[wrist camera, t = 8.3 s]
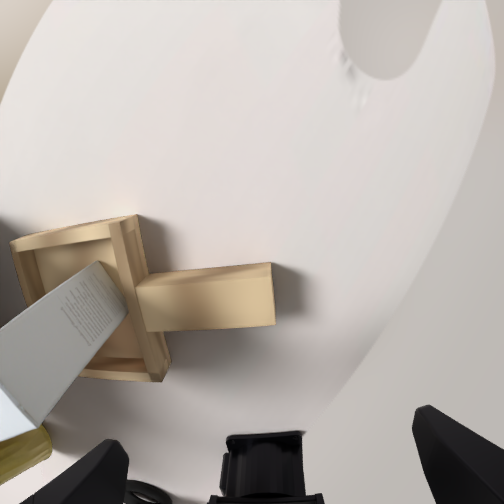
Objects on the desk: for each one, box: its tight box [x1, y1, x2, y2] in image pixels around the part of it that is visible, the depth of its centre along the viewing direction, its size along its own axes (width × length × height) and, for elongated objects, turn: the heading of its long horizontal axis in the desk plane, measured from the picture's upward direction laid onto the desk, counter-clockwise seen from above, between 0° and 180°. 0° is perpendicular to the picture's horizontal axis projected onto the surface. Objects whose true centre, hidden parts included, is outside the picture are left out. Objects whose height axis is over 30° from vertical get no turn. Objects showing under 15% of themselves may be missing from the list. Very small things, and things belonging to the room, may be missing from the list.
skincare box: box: [0, 261, 129, 442], centre depth 15 cm, size 6×4×12 cm
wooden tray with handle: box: [9, 214, 276, 382], centre depth 20 cm, size 18×11×3 cm, turn 97°
